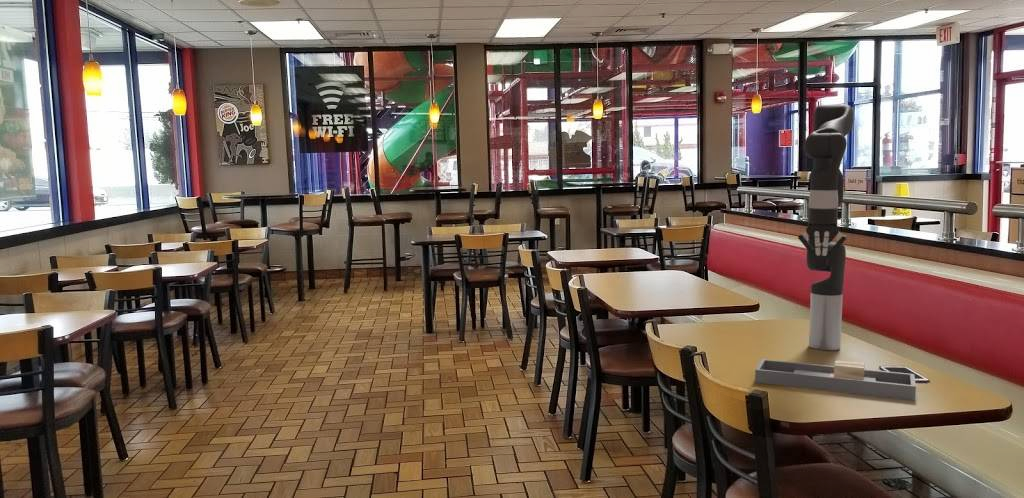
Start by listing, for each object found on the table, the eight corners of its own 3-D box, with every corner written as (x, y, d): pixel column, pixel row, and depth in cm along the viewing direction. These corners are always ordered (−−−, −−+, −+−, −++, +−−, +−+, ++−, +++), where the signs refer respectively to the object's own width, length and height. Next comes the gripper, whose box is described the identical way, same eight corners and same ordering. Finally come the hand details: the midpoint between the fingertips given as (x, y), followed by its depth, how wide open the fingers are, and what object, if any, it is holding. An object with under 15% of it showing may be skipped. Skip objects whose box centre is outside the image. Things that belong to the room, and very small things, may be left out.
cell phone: (901, 383, 206) (901, 380, 206) (877, 369, 221) (877, 365, 221) (931, 384, 206) (931, 380, 206) (905, 369, 220) (905, 365, 220)
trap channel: (761, 371, 218) (761, 359, 218) (913, 387, 202) (914, 374, 201) (754, 382, 207) (755, 369, 207) (915, 400, 191) (915, 386, 191)
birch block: (835, 375, 206) (835, 360, 206) (864, 378, 203) (864, 363, 203) (833, 380, 202) (834, 365, 201) (863, 383, 199) (864, 368, 198)
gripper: (850, 205, 214) (847, 268, 216) (799, 205, 220) (797, 265, 222) (848, 207, 207) (846, 272, 210) (796, 207, 213) (794, 269, 215)
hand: (821, 268), depth 216 cm, fingers closed
